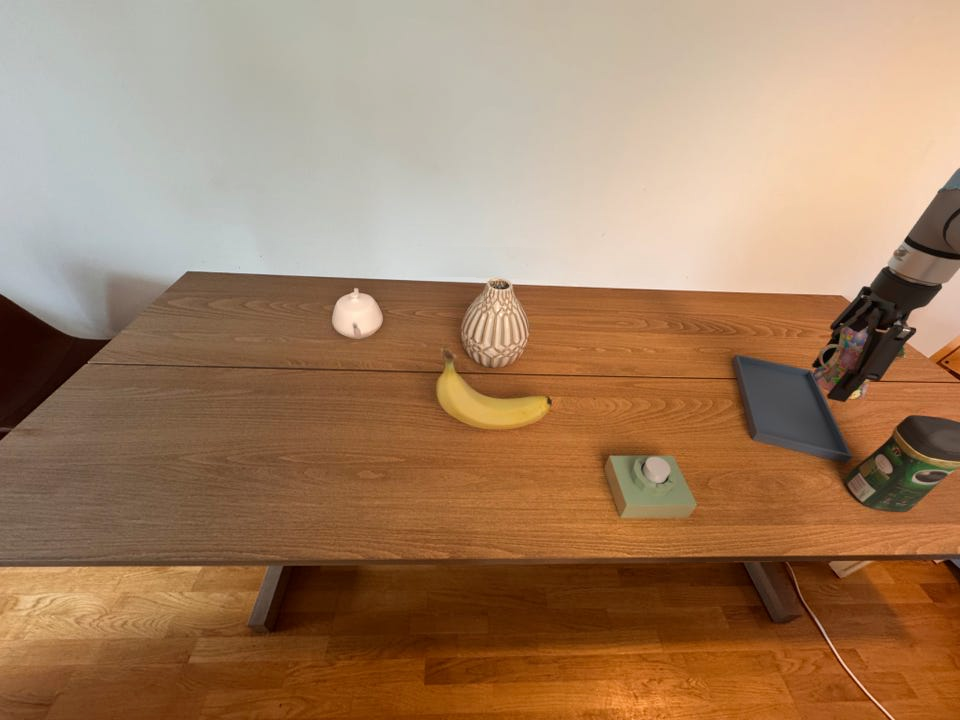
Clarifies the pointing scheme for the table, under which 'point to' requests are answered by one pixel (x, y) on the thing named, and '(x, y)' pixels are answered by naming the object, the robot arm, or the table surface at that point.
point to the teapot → (357, 315)
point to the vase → (495, 326)
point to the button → (656, 470)
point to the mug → (845, 361)
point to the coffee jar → (907, 464)
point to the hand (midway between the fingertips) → (827, 382)
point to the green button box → (648, 489)
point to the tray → (788, 409)
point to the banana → (485, 402)
